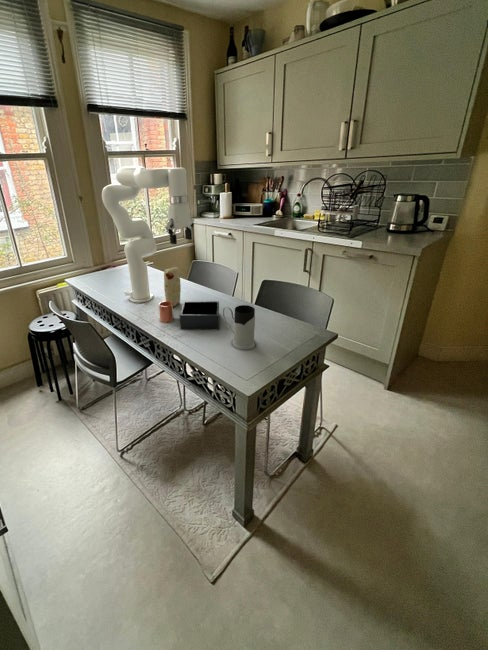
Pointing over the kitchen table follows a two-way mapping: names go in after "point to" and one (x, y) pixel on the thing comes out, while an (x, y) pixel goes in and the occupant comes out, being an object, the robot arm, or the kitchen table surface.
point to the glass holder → (243, 326)
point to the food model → (172, 285)
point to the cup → (166, 311)
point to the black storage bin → (200, 315)
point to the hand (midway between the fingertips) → (181, 241)
